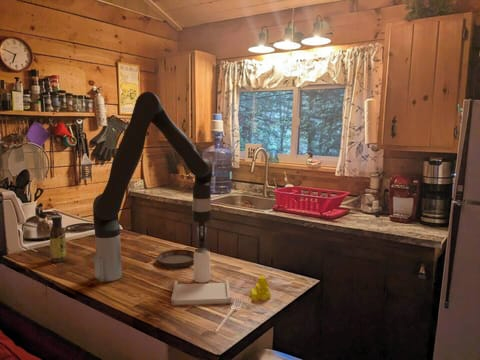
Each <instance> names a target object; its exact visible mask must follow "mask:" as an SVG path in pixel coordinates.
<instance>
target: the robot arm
mask: <svg viewBox="0 0 480 360" xmlns="http://www.w3.org/2000/svg"><path fill="white" fill-rule="evenodd" d="M151 124H153V125H154V127H156V128H157V129H158V130H159V132H161V134H162V135H163V136H164V138H165V139H166V140H167V142H168V143H169V144H170V146H171V147H172V149H173V150H174V151H175V152H176V154H177V155H179V157H180V158H181V159H182V160H183V163H184V164H185V165H186V167H187V169H188V170H189V171H190V172H191V174H192V176H194V183H193V186H192V204H191V205H192V207H191V209H192V211H191V213H192V217H191V218H192V221H193V222H195V223H198V224H196V230H197V238H198V244H199V245H198V246H199V247H198V248H206V238H207V230H208V224H207V223H208V222H210V221H212V199H211V197H212V196H211V195H212V194H211V193H212V192H211V190H212V189H211V184H212V175H213V167H212V163H211V161H210V160H209V159H207V158H205V157H204V158H203V157H202V156H201V155H200V154H199V152H198V151H197V147H196V146H195V144H194V143H193V142H192V141H191V140H190V139H189V138H188V136H187V135H186V134H185V132H183V131H182V129H181V128H179V127H178V125H176V124H175V123H174V122H173V120H172V119H171V117H170V116H169V114H168V113H167V111H166V110H165V107H163V105H162V102H161V100H160V98H159V97H158V96H157V95H156V94H155V93H154V92H152V91H144V92H142V93H140V95H138V96H137V98H136V100H135V103H134V106H133V109H132V113H131V117H130V120H129V122H128V125H127V127H126V129H125V131H124V133H123V135H122V137H121V140H120V142H119V143H118V146H117V148H116V151H115V154H114V156H113V160H112V163H111V166H110V171H109V177H108V180H107V183H106V185H105V188H104V189H103V191H102V193H100V194H98V195H97V196H96V197H95V199H94V200H93V203H92V213H93V215H92V216H93V227H94V229H93V230H94V239H95V240H94V241H95V245H94V246H95V254H94V255H93V261H94V278H95V279H96V280H97V281H99V283H104V282H113V281H117V280H120V279H121V278H122V276H123V275H122V272H123V271H122V247H121V227H120V221H119V213H120V212H121V208H122V205H123V201H124V197H125V194H126V190H127V188H128V187H129V184H130V181H131V180H132V178H133V176H134V175H135V174H134V173H135V171H136V170H137V167H138V165H139V163H140V161H141V158H142V156H143V152H144V149H145V144H146V138H147V133H148V130H149V127H150V125H151Z"/></svg>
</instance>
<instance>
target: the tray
mask: <svg viewBox="0 0 480 360" xmlns="http://www.w3.org/2000/svg"><path fill="white" fill-rule="evenodd" d="M172 289H173V290H172V295H171V298H170V305H171V306H197V305H199V306H200V305H202V306H203V305H227V304H228V305H229V304H232V297H231V290H230V289H231V287H230V281H229V279H225V282H217V283H214V282H212V283H208V282H206V283H179V281H178V280H174V284H173V288H172Z"/></svg>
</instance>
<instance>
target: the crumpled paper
mask: <svg viewBox="0 0 480 360" xmlns="http://www.w3.org/2000/svg"><path fill="white" fill-rule="evenodd" d="M269 286H271V284H270V283H269V282H268V280H267V278H266V277H265V276H264V275H263V274H261V275H260V276H259V277H257V282H256V283H255V286H254V288H250V297H251V301H255V302H256V301H259V300H261V301H266V300H268V299H269V298H271V291H270V288H269Z"/></svg>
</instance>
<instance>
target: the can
mask: <svg viewBox="0 0 480 360" xmlns="http://www.w3.org/2000/svg"><path fill="white" fill-rule="evenodd" d="M193 280H194V281H195V282H196V283H197V282H198V283H197V284H207V283H208V282H210V280H211V253H210V249H209V248H206V247H205V248H199V247H198V248H195V249H194V262H193Z"/></svg>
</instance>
